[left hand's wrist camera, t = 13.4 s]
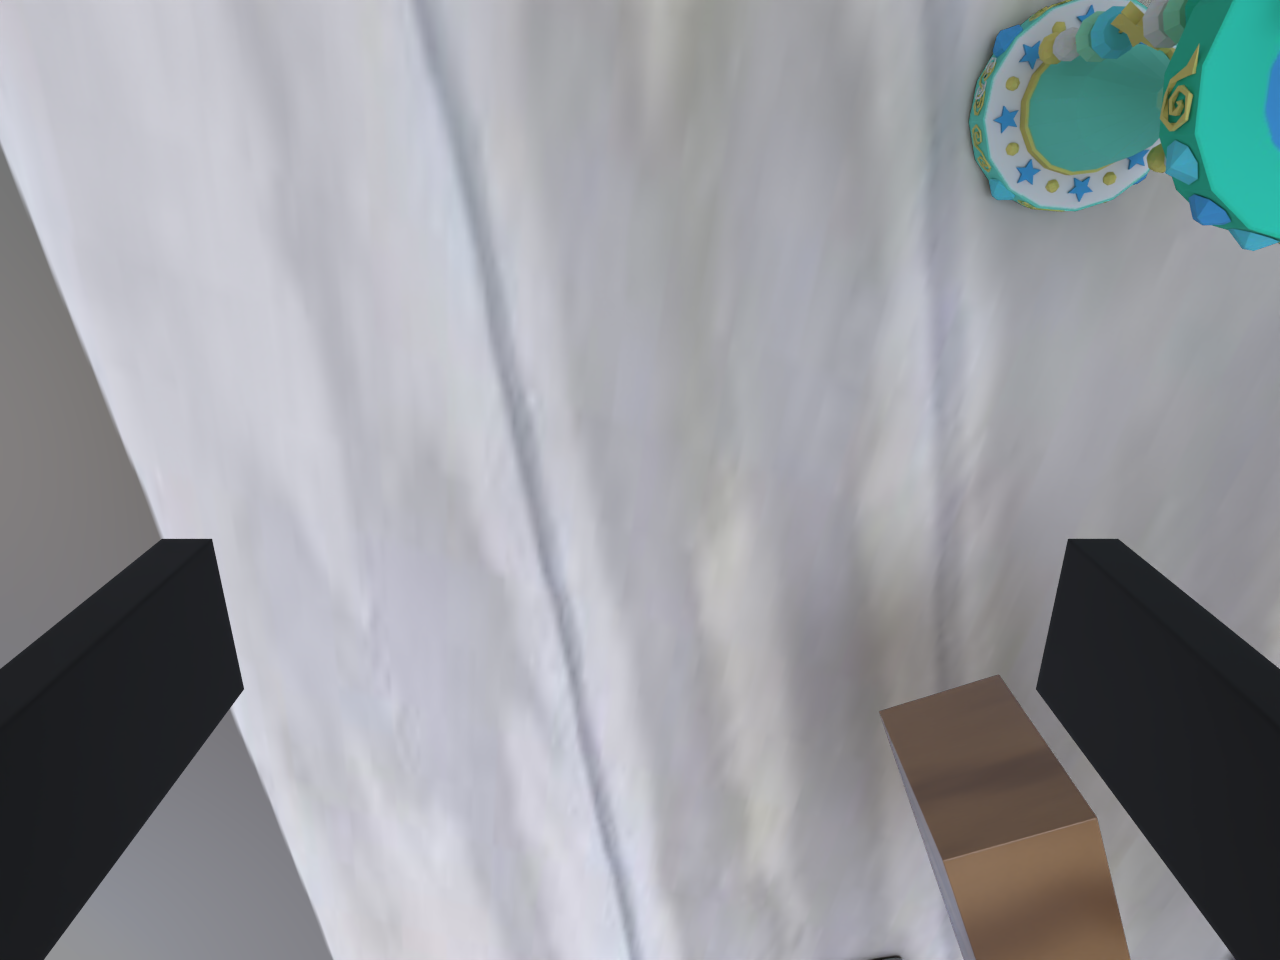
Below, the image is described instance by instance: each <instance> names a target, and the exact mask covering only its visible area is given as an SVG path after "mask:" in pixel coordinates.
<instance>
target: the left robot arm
mask: <svg viewBox="0 0 1280 960" xmlns="http://www.w3.org/2000/svg"><path fill="white" fill-rule="evenodd" d="M243 690H244V687H243V682H242V677H241V673H240V668H239V663H238V659H237V654H236V649H235V645H234V640H233V635H232V631H231V626H230V621H229V617H228V612H227V607H226V603H225V598H224V593H223V588H222V584H221V579H220V574H219V570H218V565H217V560H216V556H215V551H214V546H213V542H212V539H161V540H160V541H159V542H158V543H156V544H155V545H154V546H153V547H151V548H150V549H149V550H148V551H146V552H145V553H144V554H143V555H141V556H140V557H139V558H138V559H137V560H135V561H134V562H133V563H131V564H130V565H129V566H128V567H127V568H125V569H124V570H123V571H122V572H120V573H119V574H118V575H117V576H115V577H114V578H113V579H112V580H110V581H109V582H108V583H107V584H105V585H104V586H103V587H102V588H101V589H99V590H98V591H97V592H96V593H94V594H93V595H92V596H91V597H89V598H88V599H87V600H86V601H84V602H83V603H82V604H81V605H79V606H78V607H77V608H76V609H74V610H73V611H72V612H71V613H69V614H68V615H67V616H66V617H64V618H63V619H62V620H61V621H59V622H58V623H57V624H56V625H54V626H53V627H52V628H51V629H50V630H48V631H47V632H46V633H45V634H43V635H42V636H41V637H40V638H38V639H37V640H36V641H35V642H33V643H32V644H31V645H30V646H28V647H27V648H26V649H25V650H23V651H22V652H21V653H20V654H18V655H17V656H16V657H15V658H13V659H12V660H11V661H10V662H9V663H7V664H6V665H5V666H4V667H2V668H1V669H0V960H44V959H45V957H46V956H47V955H48V953H49V952H50V951H51V949H52V948H53V947H54V945H55V944H56V942H57V941H58V940H59V938H60V937H61V936H62V934H63V933H64V932H65V930H66V929H67V928H68V926H69V925H70V924H71V922H72V921H73V920H74V918H75V917H76V915H77V914H78V913H79V911H80V910H81V909H82V907H83V906H84V905H85V903H86V902H87V901H88V899H89V898H90V897H91V895H92V894H93V892H94V891H95V890H96V888H97V887H98V886H99V884H100V883H101V882H102V880H103V879H104V878H105V876H106V875H107V874H108V872H109V871H110V870H111V868H112V867H113V865H114V864H115V863H116V861H117V860H118V859H119V857H120V856H121V855H122V853H123V852H124V851H125V849H126V848H127V847H128V845H129V844H130V842H131V841H132V840H133V838H134V837H135V836H136V834H137V833H138V832H139V830H140V829H141V828H142V826H143V825H144V824H145V822H146V821H147V820H148V818H149V817H150V815H151V814H152V813H153V811H154V810H155V809H156V807H157V806H158V805H159V803H160V802H161V801H162V799H163V798H164V797H165V795H166V794H167V793H168V791H169V790H170V788H171V787H172V786H173V784H174V783H175V782H176V780H177V779H178V778H179V776H180V775H181V774H182V772H183V771H184V769H185V768H186V767H187V765H188V764H189V763H190V761H191V760H192V759H193V757H194V756H195V755H196V753H197V752H198V751H199V749H200V748H201V747H202V745H203V744H204V743H205V741H206V740H207V738H208V737H209V736H210V734H211V733H212V732H213V730H214V729H215V728H216V726H217V725H218V724H219V722H220V721H221V720H222V718H223V717H224V715H225V714H226V713H227V711H228V710H229V709H230V707H231V706H232V705H233V703H234V702H235V701H236V699H237V698H238V697H239V695H240V694H241V693H242V691H243ZM1036 690H1037V691H1038V693H1039V694H1040V695H1041V697H1042V698H1043V699H1044V701H1045V702H1046V703H1047V705H1048V706H1049V707H1050V709H1051V710H1052V711H1053V713H1054V714H1055V715H1056V717H1057V718H1058V720H1059V721H1060V722H1061V724H1062V725H1063V726H1064V728H1065V729H1066V730H1067V732H1068V733H1069V734H1070V736H1071V737H1072V738H1073V740H1074V741H1075V743H1076V744H1077V745H1078V747H1079V748H1080V749H1081V751H1082V752H1083V753H1084V755H1085V756H1086V757H1087V759H1088V760H1089V761H1090V763H1091V764H1092V765H1093V767H1094V768H1095V770H1096V771H1097V772H1098V774H1099V775H1100V776H1101V778H1102V779H1103V780H1104V782H1105V783H1106V784H1107V786H1108V787H1109V788H1110V790H1111V791H1112V793H1113V794H1114V795H1115V797H1116V798H1117V799H1118V801H1119V802H1120V803H1121V805H1122V806H1123V807H1124V809H1125V810H1126V811H1127V813H1128V814H1129V815H1130V817H1131V818H1132V820H1133V821H1134V822H1135V824H1136V825H1137V826H1138V828H1139V829H1140V830H1141V832H1142V833H1143V834H1144V836H1145V837H1146V838H1147V840H1148V841H1149V843H1150V844H1151V845H1152V847H1153V848H1154V849H1155V851H1156V852H1157V853H1158V855H1159V856H1160V857H1161V859H1162V860H1163V861H1164V863H1165V864H1166V865H1167V867H1168V868H1169V870H1170V871H1171V872H1172V874H1173V875H1174V876H1175V878H1176V879H1177V880H1178V882H1179V883H1180V884H1181V886H1182V887H1183V888H1184V890H1185V891H1186V892H1187V894H1188V895H1189V897H1190V898H1191V899H1192V901H1193V902H1194V903H1195V905H1196V906H1197V907H1198V909H1199V910H1200V911H1201V913H1202V914H1203V915H1204V917H1205V918H1206V920H1207V921H1208V922H1209V924H1210V925H1211V926H1212V928H1213V929H1214V930H1215V932H1216V933H1217V934H1218V936H1219V937H1220V938H1221V940H1222V941H1223V942H1224V944H1225V945H1226V947H1227V948H1228V949H1229V951H1230V952H1231V953H1232V955H1233V956H1234V957H1235V959H1236V960H1280V669H1279V668H1278V667H1276V666H1275V665H1274V664H1273V663H1271V662H1270V661H1269V660H1268V659H1267V658H1265V657H1264V656H1263V655H1262V654H1260V653H1259V652H1258V651H1257V650H1255V649H1254V648H1253V647H1252V646H1250V645H1249V644H1248V643H1247V642H1245V641H1244V640H1243V639H1242V638H1240V637H1239V636H1238V635H1237V634H1235V633H1234V632H1233V631H1232V630H1230V629H1229V628H1228V627H1227V626H1226V625H1224V624H1223V623H1222V622H1221V621H1219V620H1218V619H1217V618H1216V617H1214V616H1213V615H1212V614H1211V613H1209V612H1208V611H1207V610H1206V609H1204V608H1203V607H1202V606H1201V605H1199V604H1198V603H1197V602H1196V601H1194V600H1193V599H1192V598H1191V597H1190V596H1188V595H1187V594H1186V593H1185V592H1183V591H1182V590H1181V589H1180V588H1178V587H1177V586H1176V585H1175V584H1173V583H1172V582H1171V581H1170V580H1168V579H1167V578H1166V577H1165V576H1163V575H1162V574H1161V573H1160V572H1158V571H1157V570H1156V569H1155V568H1153V567H1152V566H1151V565H1150V564H1149V563H1147V562H1146V561H1145V560H1144V559H1142V558H1141V557H1140V556H1139V555H1137V554H1136V553H1135V552H1134V551H1132V550H1131V549H1130V548H1129V547H1127V546H1126V545H1125V544H1124V543H1122V542H1121V541H1120V540H1119V539H1068V542H1067V546H1066V551H1065V556H1064V560H1063V565H1062V570H1061V574H1060V579H1059V584H1058V588H1057V593H1056V598H1055V603H1054V607H1053V612H1052V617H1051V621H1050V626H1049V631H1048V635H1047V640H1046V645H1045V649H1044V654H1043V659H1042V663H1041V668H1040V673H1039V677H1038V682H1037V687H1036Z"/></svg>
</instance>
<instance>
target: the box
mask: <svg viewBox="0 0 1280 960" xmlns="http://www.w3.org/2000/svg"><path fill="white" fill-rule="evenodd" d="M879 713H880V716H881V719H882V722H883V725H884V728H885V731H886V734H887V737H888V740H889V743H890V746H891V749H892V751H893V754H894V757H895V760H896V763H897V766H898V769H899V772H900V775H901V778H902V781H903V784H904V787H905V789H906V792H907V795H908V798H909V801H910V804H911V807H912V810H913V813H914V816H915V819H916V822H917V825H918V827H919V830H920V833H921V836H922V839H923V842H924V845H925V848H926V851H927V854H928V857H929V860H930V863H931V865H932V868H933V871H934V874H935V877H936V880H937V883H938V886H939V889H940V892H941V895H942V898H943V900H944V903H945V906H946V909H947V912H948V915H949V918H950V921H951V924H952V927H953V930H954V933H955V936H956V938H957V941H958V944H959V947H960V950H961V953H962V956H963V959H964V960H1131V959H1130V955H1129V951H1128V947H1127V942H1126V938H1125V934H1124V930H1123V926H1122V921H1121V917H1120V913H1119V909H1118V904H1117V900H1116V896H1115V892H1114V887H1113V883H1112V879H1111V875H1110V870H1109V866H1108V862H1107V858H1106V853H1105V849H1104V845H1103V841H1102V836H1101V832H1100V828H1099V824H1098V819H1097V817H1096V815H1095V814H1094V812H1093V811H1092V809H1091V808H1090V806H1089V805H1088V804H1087V802H1086V801H1085V799H1084V798H1083V796H1082V795H1081V793H1080V792H1079V790H1078V789H1077V788H1076V786H1075V785H1074V783H1073V782H1072V780H1071V779H1070V777H1069V776H1068V774H1067V773H1066V771H1065V770H1064V769H1063V767H1062V766H1061V764H1060V763H1059V761H1058V760H1057V758H1056V757H1055V755H1054V754H1053V753H1052V751H1051V750H1050V748H1049V747H1048V745H1047V744H1046V742H1045V741H1044V739H1043V738H1042V736H1041V735H1040V734H1039V732H1038V731H1037V729H1036V728H1035V726H1034V725H1033V723H1032V722H1031V720H1030V719H1029V718H1028V716H1027V715H1026V713H1025V712H1024V710H1023V709H1022V707H1021V706H1020V704H1019V703H1018V701H1017V700H1016V699H1015V697H1014V696H1013V694H1012V693H1011V691H1010V690H1009V688H1008V687H1007V685H1006V684H1005V683H1004V681H1003V680H1002V678H1001V677H1000V675H995V676H992V677H989V678H986V679H982V680H979V681H976V682H973V683H969V684H966V685H963V686H960V687H956V688H953V689H950V690H947V691H943V692H940V693H937V694H934V695H930V696H927V697H924V698H921V699H917V700H914V701H911V702H908V703H904V704H901V705H898V706H895V707H891V708H888V709H885V710H882V711H879Z"/></svg>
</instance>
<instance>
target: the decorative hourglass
mask: <svg viewBox="0 0 1280 960" xmlns="http://www.w3.org/2000/svg"><path fill="white" fill-rule="evenodd" d="M1069 1H1070V2H1069ZM1066 2H1067V3H1066ZM1063 3H1065V4H1063ZM1060 4H1062V5H1060ZM1057 5H1059V6H1057ZM1053 6H1056V7H1053ZM1051 7H1053V8H1051ZM969 126H970V132H971V138H972V144H973V150H974V156H975V160H976V162H977V163H978V165H979V166H980V168H981V169H982V171H983V172H984V174H985V175H986V177H987V178H988V180H989V185H990V189H991V194H992V196H993V197H994V198H995V199H997V200H1014V201H1016V202H1017V203H1019V204H1021V205H1022V206H1025V207H1028V208H1031V209H1038V210H1048V211H1061V212H1063V211H1065V210H1066V211H1078V210H1082V209H1085V208H1087V207H1091V206H1094V205H1097V204H1100V203H1106V202H1107V201H1110V200H1113V199H1114V198H1116V197H1117V196H1118V195H1120V194H1121V193H1122V192H1124V191H1125V190H1126V189H1128V188H1129V187H1130V186H1132V185H1134V184H1138V183H1139V182H1141V181H1142V180H1143V179H1145V178H1146V176H1147V174H1148V172H1149V170H1150V169H1151V170H1153V171H1155V172H1160V173H1163V172H1165V171H1166V172H1165V173H1166V174H1168V175H1170V176H1172V178H1173V181H1174V185H1175V188H1176V190H1177V191H1178V192H1179V193H1180V194H1181V195H1182V196H1183V197H1184V198H1185V199H1186V200H1187V201H1188V202H1189V203H1190V208H1191V212H1192V217H1193V219H1194V220H1195V221H1197V222H1198V223H1200V224H1202V225H1213V226H1216V227H1220V228H1223V229H1227V230H1229V232H1230V233H1231V234H1232V236H1233V237H1234V238H1235V240H1236V241H1237V242H1238V244H1239V245H1240V246H1241V248H1242V249H1247V250H1252V251H1255V250H1257V249H1260V248H1263V247H1266V246H1269V245H1272V244H1275V243H1279V244H1280V0H1152V1H1151V3H1150V4H1149V6H1148V8H1147V7H1145V6H1144V5H1143V4H1141V3H1140V2H1138V1H1137V0H1073V1H1072V0H1065V1H1063V2H1060V3H1057V4H1053V5H1051V6H1050V7H1049V8H1047V6H1046V7H1045V8H1043V9H1041V10H1039V11H1038V12H1037V13H1035V14H1034V15H1032V16H1031V17H1030V18H1029V19H1027V20H1026V21H1025V22H1024V23H1023V24H1022V25H1016V26H1013V27H1010V28H1007V29H1004V30H1001V31H1000V32H999V34H998V35H997V37H996V41H995V44H994V48H993V55H992V57H991V59H990V60H989V62H988V64H987V65H986V67H985V69H984V70H983V72H982V74H981V75H980V77H979V79H978V81H977V84H976V89H975V94H974V99H973V104H972V109H971V114H970V119H969Z"/></svg>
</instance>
